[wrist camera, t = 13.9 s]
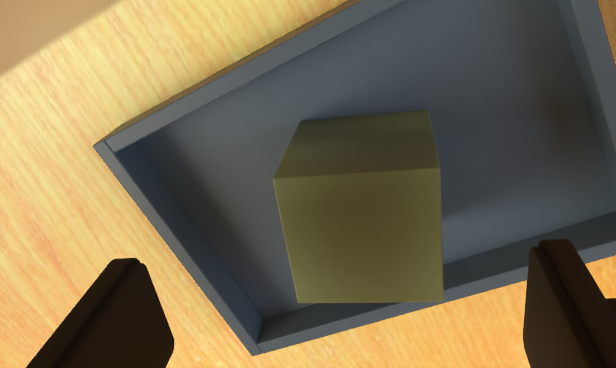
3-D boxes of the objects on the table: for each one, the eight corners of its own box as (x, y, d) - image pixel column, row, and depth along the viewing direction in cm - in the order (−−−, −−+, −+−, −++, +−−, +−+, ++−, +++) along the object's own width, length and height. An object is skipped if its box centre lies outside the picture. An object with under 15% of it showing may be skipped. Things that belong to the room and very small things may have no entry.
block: (317, 226, 19) (297, 303, 15) (299, 120, 17) (271, 178, 13) (432, 221, 18) (443, 302, 14) (428, 109, 16) (440, 168, 12)
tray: (262, 324, 23) (252, 357, 21) (119, 125, 19) (91, 146, 17) (636, 210, 17) (664, 242, 15) (544, -108, 13) (567, -113, 11)
